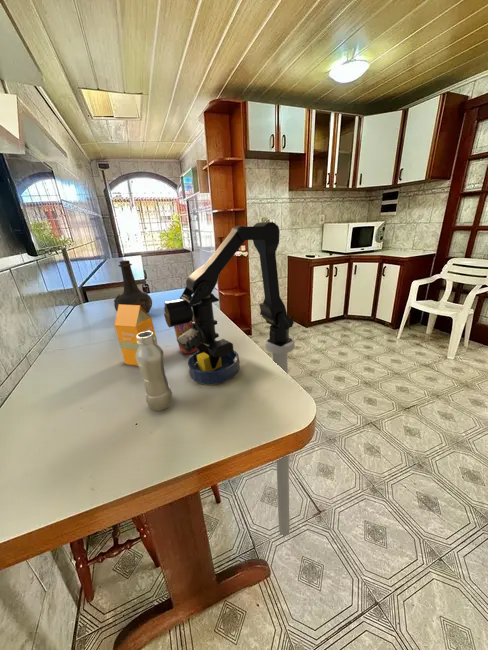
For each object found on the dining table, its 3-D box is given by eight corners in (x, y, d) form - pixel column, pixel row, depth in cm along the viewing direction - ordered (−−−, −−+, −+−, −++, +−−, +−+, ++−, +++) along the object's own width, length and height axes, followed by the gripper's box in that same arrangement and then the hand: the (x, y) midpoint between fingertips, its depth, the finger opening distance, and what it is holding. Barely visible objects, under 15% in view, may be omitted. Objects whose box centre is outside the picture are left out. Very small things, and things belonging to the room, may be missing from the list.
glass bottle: (121, 312, 144) (107, 260, 133) (155, 308, 147) (144, 256, 137) (114, 324, 128) (98, 265, 117) (153, 318, 131) (140, 261, 121)
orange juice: (140, 353, 97) (127, 300, 89) (160, 355, 94) (148, 301, 86) (124, 364, 90) (109, 308, 83) (146, 367, 87) (131, 309, 80)
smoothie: (173, 354, 95) (162, 300, 87) (186, 343, 102) (177, 293, 94) (193, 356, 91) (184, 301, 84) (205, 346, 99) (197, 293, 91)
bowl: (220, 354, 92) (219, 342, 90) (250, 370, 81) (249, 357, 79) (181, 372, 83) (178, 359, 81) (208, 393, 72) (206, 379, 70)
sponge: (214, 361, 86) (212, 348, 84) (221, 366, 83) (220, 352, 81) (198, 369, 82) (196, 355, 80) (205, 374, 79) (203, 359, 77)
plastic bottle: (150, 417, 64) (131, 343, 57) (146, 402, 70) (128, 333, 62) (177, 408, 67) (162, 336, 59) (170, 394, 73) (156, 326, 65)
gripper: (163, 318, 78) (172, 364, 84) (196, 336, 65) (204, 389, 71) (196, 309, 85) (202, 352, 91) (232, 323, 72) (236, 372, 77)
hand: (209, 365), depth 82 cm, fingers closed on sponge, 4 cm apart
